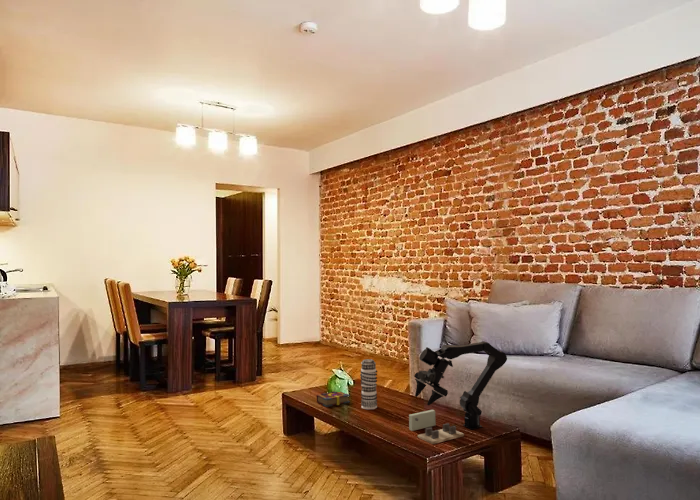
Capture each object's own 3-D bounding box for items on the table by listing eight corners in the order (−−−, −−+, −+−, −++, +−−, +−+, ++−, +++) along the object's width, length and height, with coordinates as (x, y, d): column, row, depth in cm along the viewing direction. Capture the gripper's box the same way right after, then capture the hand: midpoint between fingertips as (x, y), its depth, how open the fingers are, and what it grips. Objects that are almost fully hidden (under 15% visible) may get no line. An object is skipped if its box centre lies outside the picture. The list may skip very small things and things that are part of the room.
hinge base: (448, 429, 232) (448, 420, 232) (463, 436, 223) (463, 426, 223) (417, 437, 222) (417, 428, 222) (432, 444, 214) (432, 434, 214)
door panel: (432, 424, 240) (432, 409, 240) (436, 426, 237) (436, 411, 237) (409, 430, 232) (408, 414, 233) (413, 431, 230) (412, 416, 230)
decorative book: (316, 402, 280) (316, 393, 280) (341, 398, 288) (341, 389, 288) (326, 407, 270) (326, 398, 270) (351, 402, 279) (351, 393, 279)
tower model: (378, 409, 264) (377, 361, 265) (360, 409, 264) (359, 361, 265) (377, 404, 273) (376, 358, 274) (360, 404, 274) (359, 358, 274)
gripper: (414, 356, 237) (398, 386, 235) (439, 371, 221) (422, 403, 219) (430, 365, 242) (414, 394, 240) (455, 380, 226) (438, 411, 224)
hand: (421, 400), depth 231 cm, fingers open, 9 cm apart
